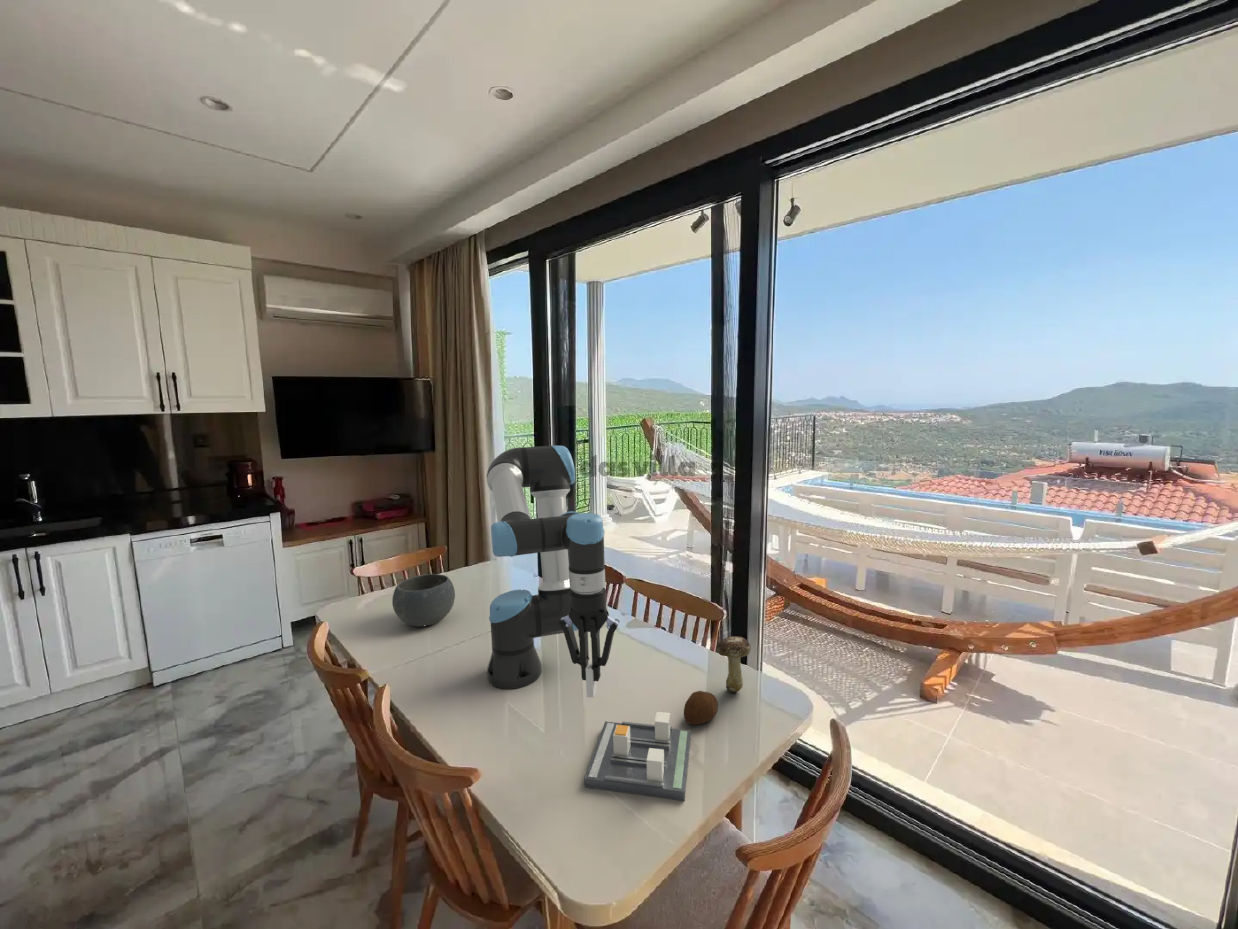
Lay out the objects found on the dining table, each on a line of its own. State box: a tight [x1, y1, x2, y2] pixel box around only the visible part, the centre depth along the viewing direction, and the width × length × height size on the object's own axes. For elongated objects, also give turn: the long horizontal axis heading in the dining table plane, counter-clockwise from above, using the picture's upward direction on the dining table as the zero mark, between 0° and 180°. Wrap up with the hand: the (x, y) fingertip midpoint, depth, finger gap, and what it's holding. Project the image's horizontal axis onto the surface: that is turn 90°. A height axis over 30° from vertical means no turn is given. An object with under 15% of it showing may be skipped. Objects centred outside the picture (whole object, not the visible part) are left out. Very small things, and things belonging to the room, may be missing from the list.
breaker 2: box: [647, 748, 664, 783], centre depth 101 cm, size 3×4×4 cm
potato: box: [683, 690, 719, 725], centre depth 121 cm, size 7×10×7 cm
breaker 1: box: [654, 711, 671, 741], centre depth 113 cm, size 3×4×4 cm
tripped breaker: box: [613, 725, 631, 756], centre depth 109 cm, size 3×4×5 cm
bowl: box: [392, 573, 456, 627], centre depth 178 cm, size 20×20×15 cm
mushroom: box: [716, 635, 752, 694], centre depth 131 cm, size 9×9×15 cm
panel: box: [584, 721, 692, 802], centre depth 108 cm, size 20×18×3 cm
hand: (591, 693), depth 108 cm, fingers closed
